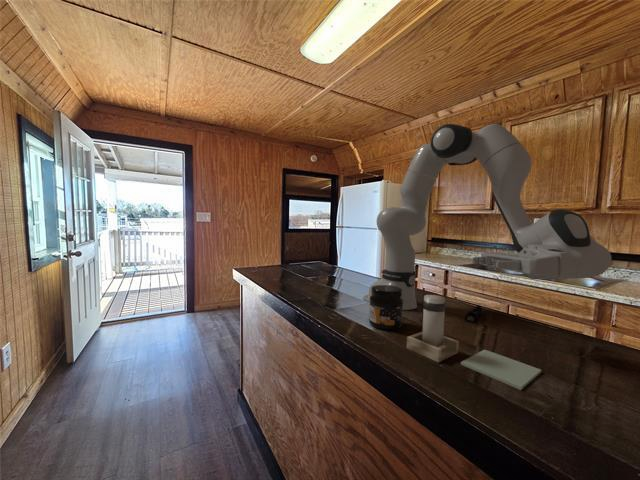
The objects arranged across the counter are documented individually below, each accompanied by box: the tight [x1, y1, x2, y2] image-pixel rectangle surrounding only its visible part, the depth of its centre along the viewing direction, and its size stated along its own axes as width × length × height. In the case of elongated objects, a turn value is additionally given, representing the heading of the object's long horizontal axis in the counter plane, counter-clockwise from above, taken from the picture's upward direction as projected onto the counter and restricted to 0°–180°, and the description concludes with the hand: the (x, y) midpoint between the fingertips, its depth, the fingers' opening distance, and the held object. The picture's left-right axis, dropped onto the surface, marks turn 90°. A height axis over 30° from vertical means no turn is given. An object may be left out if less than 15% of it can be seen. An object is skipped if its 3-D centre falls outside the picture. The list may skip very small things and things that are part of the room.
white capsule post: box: [421, 294, 446, 347], centre depth 72 cm, size 5×5×14 cm
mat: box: [460, 349, 542, 391], centre depth 64 cm, size 12×12×1 cm
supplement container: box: [368, 285, 404, 331], centre depth 89 cm, size 10×10×12 cm
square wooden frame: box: [406, 331, 460, 363], centre depth 72 cm, size 9×9×3 cm
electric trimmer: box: [464, 305, 483, 324], centre depth 100 cm, size 4×16×3 cm, turn 140°
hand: (483, 262), depth 71 cm, fingers open, 8 cm apart
